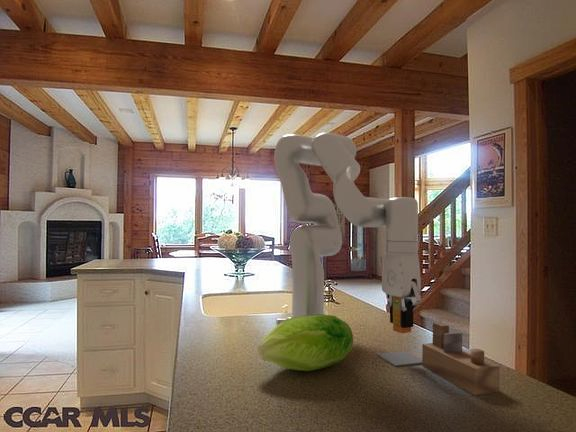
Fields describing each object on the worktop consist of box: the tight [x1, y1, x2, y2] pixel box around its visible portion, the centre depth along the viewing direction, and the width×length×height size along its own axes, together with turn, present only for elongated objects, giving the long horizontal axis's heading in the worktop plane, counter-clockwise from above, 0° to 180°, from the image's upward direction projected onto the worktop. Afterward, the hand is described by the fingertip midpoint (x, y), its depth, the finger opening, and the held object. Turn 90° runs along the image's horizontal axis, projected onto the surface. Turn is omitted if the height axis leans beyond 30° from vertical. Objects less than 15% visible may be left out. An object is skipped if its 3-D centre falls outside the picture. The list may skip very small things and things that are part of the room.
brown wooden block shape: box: [421, 321, 501, 396], centre depth 84 cm, size 6×16×10 cm, turn 18°
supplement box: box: [392, 294, 412, 334], centre depth 95 cm, size 3×3×10 cm
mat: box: [376, 350, 422, 368], centre depth 95 cm, size 8×8×1 cm
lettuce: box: [257, 314, 354, 372], centre depth 88 cm, size 13×23×12 cm, turn 115°
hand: (401, 324), depth 95 cm, fingers closed on supplement box, 3 cm apart
